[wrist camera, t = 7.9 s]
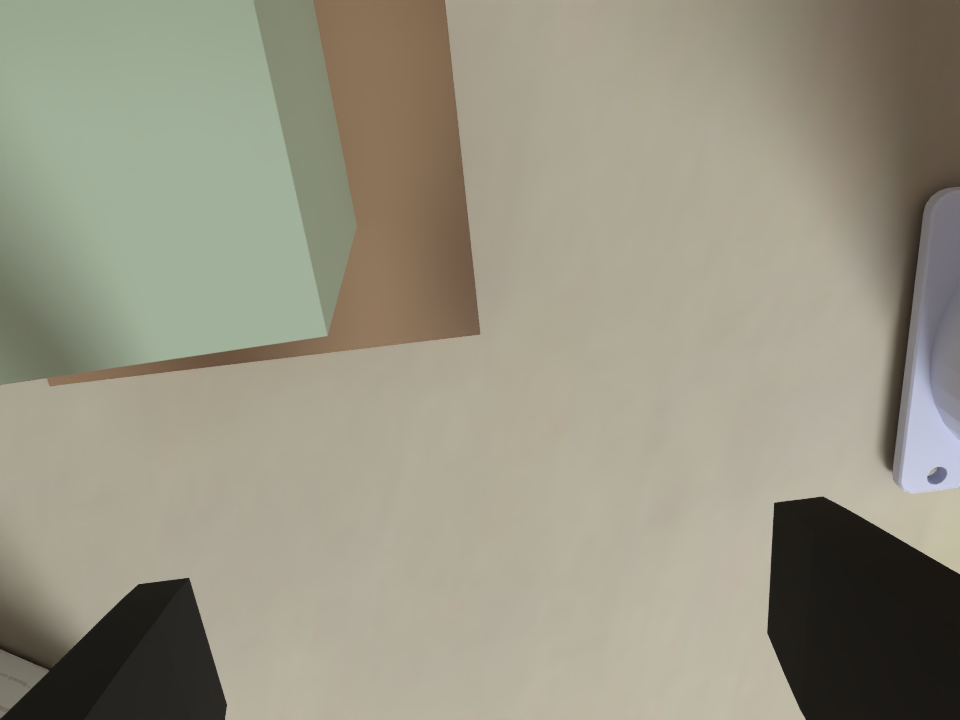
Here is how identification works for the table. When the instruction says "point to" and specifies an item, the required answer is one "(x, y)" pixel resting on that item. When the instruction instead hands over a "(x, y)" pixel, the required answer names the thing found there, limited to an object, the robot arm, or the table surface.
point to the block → (164, 182)
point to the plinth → (384, 188)
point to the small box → (16, 679)
